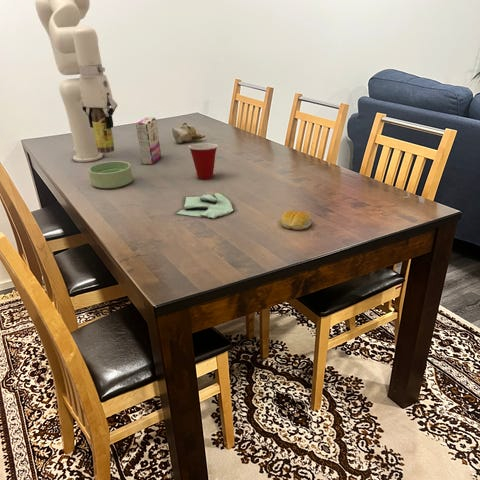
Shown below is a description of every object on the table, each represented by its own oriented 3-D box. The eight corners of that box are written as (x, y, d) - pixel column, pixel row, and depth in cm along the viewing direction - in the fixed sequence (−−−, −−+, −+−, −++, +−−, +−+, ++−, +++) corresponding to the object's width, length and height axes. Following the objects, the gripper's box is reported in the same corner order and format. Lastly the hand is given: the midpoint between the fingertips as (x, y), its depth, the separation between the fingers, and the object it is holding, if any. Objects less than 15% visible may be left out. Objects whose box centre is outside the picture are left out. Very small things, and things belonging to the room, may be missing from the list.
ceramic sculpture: (166, 122, 225) (194, 119, 232) (168, 141, 230) (195, 138, 237) (177, 126, 218) (205, 123, 225) (178, 146, 222) (206, 142, 229)
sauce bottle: (109, 154, 172) (98, 94, 160) (94, 153, 173) (82, 93, 162) (118, 149, 177) (108, 90, 166) (103, 148, 178) (92, 90, 167)
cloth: (216, 222, 146) (216, 214, 145) (161, 210, 156) (160, 203, 155) (250, 200, 160) (250, 193, 159) (198, 191, 170) (197, 184, 169)
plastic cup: (223, 173, 186) (221, 141, 179) (213, 182, 178) (211, 149, 171) (198, 171, 189) (195, 140, 183) (186, 180, 181) (183, 147, 174)
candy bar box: (150, 156, 210) (145, 117, 200) (161, 157, 209) (156, 117, 199) (141, 164, 201) (135, 123, 191) (152, 164, 200) (146, 123, 190)
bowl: (83, 184, 181) (80, 168, 178) (117, 174, 191) (114, 159, 187) (107, 192, 173) (104, 176, 169) (141, 181, 182) (138, 165, 178)
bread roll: (288, 217, 147) (288, 205, 145) (314, 222, 143) (315, 210, 141) (275, 227, 142) (275, 214, 140) (302, 232, 138) (302, 219, 135)
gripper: (119, 69, 160) (128, 126, 170) (77, 69, 166) (88, 123, 176) (106, 72, 154) (116, 131, 165) (63, 72, 160) (75, 128, 170)
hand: (102, 126), depth 170 cm, fingers closed on sauce bottle, 6 cm apart
